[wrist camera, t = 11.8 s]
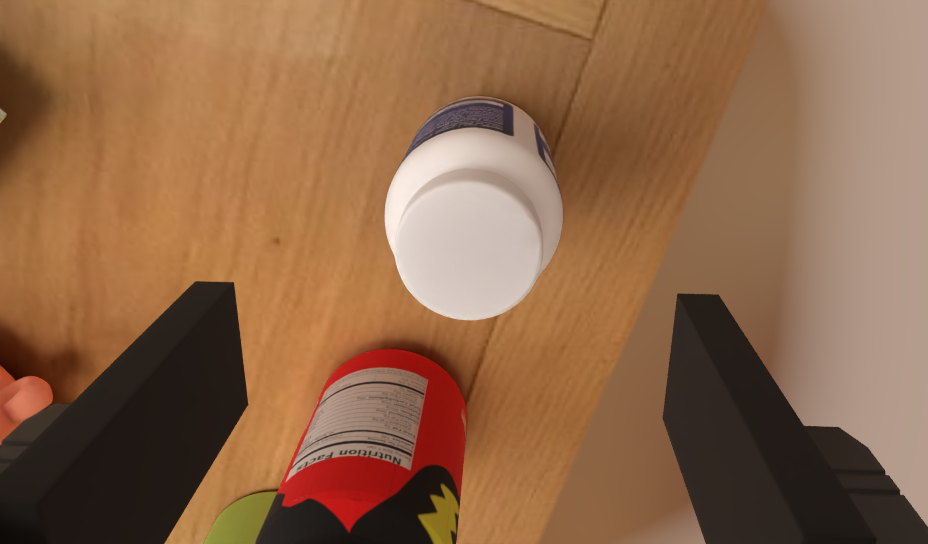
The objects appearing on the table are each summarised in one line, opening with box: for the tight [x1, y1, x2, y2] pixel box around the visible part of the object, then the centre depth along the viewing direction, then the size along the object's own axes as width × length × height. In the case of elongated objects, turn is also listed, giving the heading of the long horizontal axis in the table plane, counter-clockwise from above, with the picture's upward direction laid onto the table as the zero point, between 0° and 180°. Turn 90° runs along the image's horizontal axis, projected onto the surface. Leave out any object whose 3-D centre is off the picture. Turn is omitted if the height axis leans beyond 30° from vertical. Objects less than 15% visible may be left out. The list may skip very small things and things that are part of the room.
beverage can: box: [255, 349, 467, 544], centre depth 27 cm, size 6×6×12 cm
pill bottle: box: [385, 96, 563, 320], centre depth 24 cm, size 5×5×10 cm
